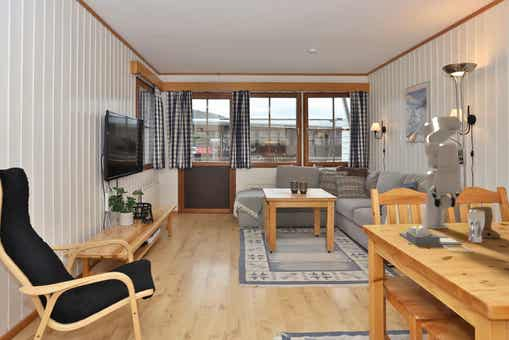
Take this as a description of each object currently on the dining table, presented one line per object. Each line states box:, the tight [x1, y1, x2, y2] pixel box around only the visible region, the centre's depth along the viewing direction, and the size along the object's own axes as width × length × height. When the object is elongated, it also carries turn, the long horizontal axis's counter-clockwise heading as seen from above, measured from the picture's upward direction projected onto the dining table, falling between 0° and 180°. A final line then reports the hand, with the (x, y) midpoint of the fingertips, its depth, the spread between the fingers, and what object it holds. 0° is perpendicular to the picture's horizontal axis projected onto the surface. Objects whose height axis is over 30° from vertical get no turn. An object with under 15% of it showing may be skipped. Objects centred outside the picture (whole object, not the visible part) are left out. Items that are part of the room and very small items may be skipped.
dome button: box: [416, 225, 431, 236], centre depth 179 cm, size 6×6×6 cm
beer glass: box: [467, 209, 485, 244], centre depth 181 cm, size 7×7×15 cm
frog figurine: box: [439, 194, 452, 210], centre depth 181 cm, size 6×7×7 cm
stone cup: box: [470, 205, 502, 239], centre depth 192 cm, size 15×12×15 cm
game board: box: [398, 225, 475, 253], centre depth 179 cm, size 31×21×5 cm
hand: (444, 206), depth 181 cm, fingers closed on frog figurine, 6 cm apart
